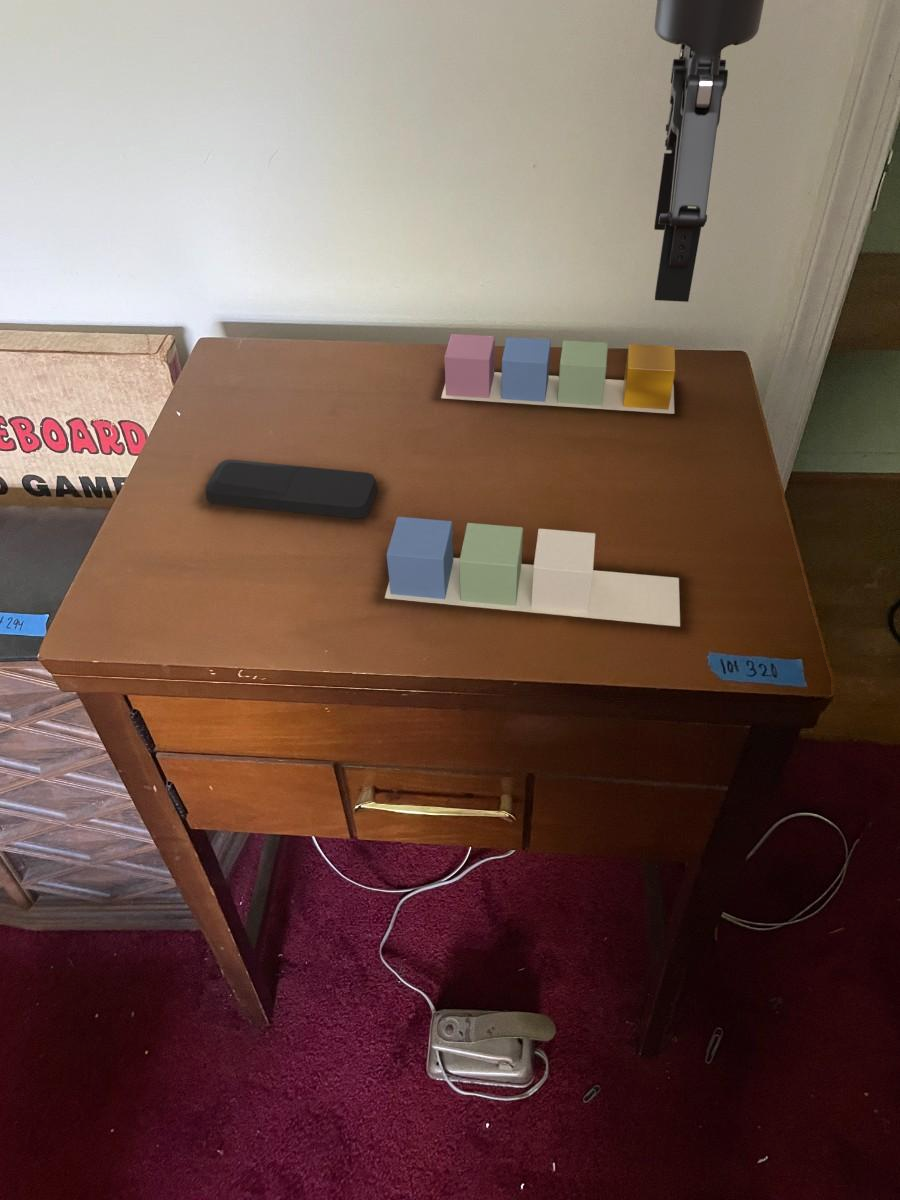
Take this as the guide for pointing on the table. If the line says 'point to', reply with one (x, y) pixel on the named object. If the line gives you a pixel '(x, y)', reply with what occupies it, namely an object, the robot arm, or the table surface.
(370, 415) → the table surface
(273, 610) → the table surface
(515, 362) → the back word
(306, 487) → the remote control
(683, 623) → the table surface
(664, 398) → the block
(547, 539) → the white strip with cubes
